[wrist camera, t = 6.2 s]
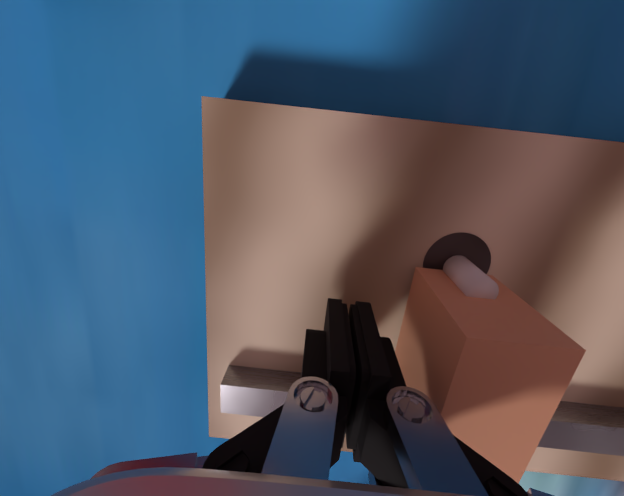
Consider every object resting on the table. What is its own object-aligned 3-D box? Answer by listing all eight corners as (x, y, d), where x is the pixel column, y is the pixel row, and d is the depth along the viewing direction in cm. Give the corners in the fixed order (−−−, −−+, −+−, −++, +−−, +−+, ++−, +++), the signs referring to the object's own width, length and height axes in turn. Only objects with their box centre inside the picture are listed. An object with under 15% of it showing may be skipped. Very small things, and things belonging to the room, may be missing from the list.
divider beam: (892, 298, 12) (1240, 396, 7) (752, 458, 15) (936, 595, 10) (230, 226, 12) (172, 280, 7) (228, 402, 15) (187, 515, 10)
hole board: (913, 179, 12) (1026, 186, 10) (697, 455, 17) (743, 494, 16) (220, 102, 12) (200, 95, 10) (221, 404, 17) (208, 437, 16)
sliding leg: (498, 258, 11) (598, 326, 7) (439, 429, 14) (486, 545, 10) (419, 250, 11) (474, 313, 7) (377, 422, 14) (400, 536, 10)
